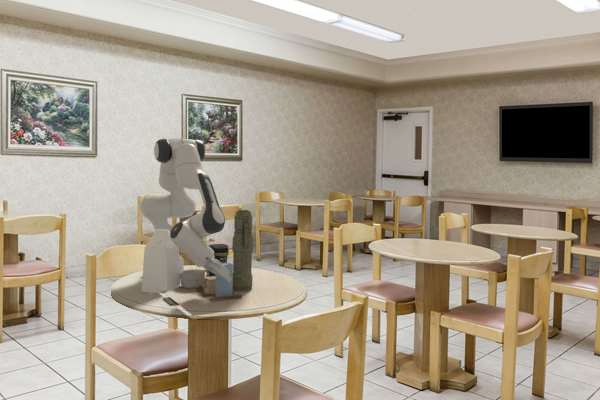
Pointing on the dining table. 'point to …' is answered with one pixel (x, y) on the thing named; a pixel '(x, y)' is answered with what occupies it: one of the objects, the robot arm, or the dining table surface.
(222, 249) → the coffee jar
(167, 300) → the mat
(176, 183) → the robot arm
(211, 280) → the offcut top
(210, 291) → the offcut low
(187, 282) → the teacup
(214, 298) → the tray
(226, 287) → the tall pale blue box
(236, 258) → the thermos
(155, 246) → the milk
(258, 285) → the dining table surface
